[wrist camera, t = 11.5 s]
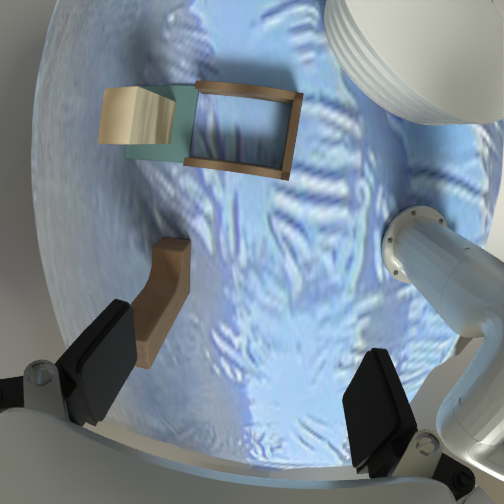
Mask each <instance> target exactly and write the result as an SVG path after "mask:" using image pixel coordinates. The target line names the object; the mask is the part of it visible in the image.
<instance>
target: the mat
mask: <svg viewBox="0 0 504 504" xmlns="http://www.w3.org/2000/svg"><path fill="white" fill-rule="evenodd" d="M134 87H136V86H134ZM138 87H141V88H143V89H146V90H148V91H151V92H153V93H156V94H158V95H161V96H163V97H165V98H168V99H170V100H172V101H175V102H176V108H175V114H174V121H173V128H172V135H171V143H170V144H126V147H125V159H141V160H155V161H167V162H177V163H184V158H186V157H189V156H190V148H191V140H192V133H193V126H194V119H195V113H196V107H197V101H198V95H199V91H198V90H197V89H195V86H138Z"/></svg>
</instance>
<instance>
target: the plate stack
mask: <svg viewBox="0 0 504 504" xmlns="http://www.w3.org/2000/svg"><path fill="white" fill-rule="evenodd" d="M324 27H325V32H326V36H327V39H328V42H329V45H330V47H331V49H332V51H333V53H334V55H335V57H336V59H337V61H338V62H339V64H340V65H341V67H342V68H343V70H344V71H345V73H346V74H347V75H348V76H349V78H350V79H351V80H352V81H353V82H354V83H355V85H356V86H357V87H358V88H359V89H360V90H361V91H362V92H363V93H364V94H366V95H367V96H368V97H369V98H370V99H371V100H373V101H374V102H375V103H377V104H378V105H379V106H381V107H382V108H384V109H385V110H387V111H389V112H390V113H392V114H394V115H396V116H398V117H400V118H402V119H405V120H407V121H410V122H414V123H417V124H422V125H456V124H489V123H494V122H497V121H499V120H501V119H502V118H504V19H503V17H502V16H501V14H500V12H499V11H498V10H497V8H496V6H495V5H494V3H493V2H492V1H491V0H327V1H326V4H325V9H324Z"/></svg>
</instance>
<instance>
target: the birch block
mask: <svg viewBox="0 0 504 504" xmlns="http://www.w3.org/2000/svg"><path fill="white" fill-rule="evenodd" d="M175 108H176V102H175V101H172V100H170V99H168V98H165V97H163V96H161V95H158V94H156V93H153V92H151V91H148V90H146V89H143V88H141V87H138V86H136V87H119V88H107V89H105V93H104V99H103V105H102V112H101V119H100V127H99V136H98V144H170V143H171V135H172V128H173V121H174V114H175Z"/></svg>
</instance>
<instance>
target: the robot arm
mask: <svg viewBox="0 0 504 504" xmlns="http://www.w3.org/2000/svg"><path fill="white" fill-rule="evenodd" d="M388 238H389V240H388ZM382 258H383V262H384V264H385V267H386V269H387V270H388V272H389V273H390V274H391V275H392V276H393V277H394V278H395V279H397V280H398V281H400V282H403V283H408V284H413V285H414V286H415V287H416V288H417V289H418V291H419V292H420V293H421V294H422V295H423V296H424V298H425V299H426V300H427V301H428V302H429V303H430V305H431V306H432V307H433V308H434V309H435V311H436V312H437V313H438V314H439V315H440V317H441V318H442V319H443V320H444V322H445V323H446V324H447V325H448V326H449V328H450V329H451V330H452V331H454V332H455V333H456V334H458V335H460V336H463V337H468V338H479V337H484V340H483V343H482V345H481V346H480V348H479V350H478V352H477V353H476V355H475V358H474V359H473V360H472V362H471V363H470V365H469V366H468V368H467V369H466V371H465V372H464V373H463V375H462V376H461V377H460V379H459V380H458V382H457V383H456V384H455V386H454V387H453V388H452V390H451V391H450V392H449V393H448V395H447V396H446V398H445V399H444V401H443V402H442V404H441V406H440V408H439V410H438V414H437V419H436V426H437V430H438V434H439V436H440V437H439V436H438V434H436V433H435V432H433V431H431V430H426V429H423V430H419V431H418V429H417V423H416V421H415V418H414V415H413V412H412V410H411V407H410V405H409V402H408V399H407V397H406V394H405V392H404V389H403V387H402V384H401V382H400V379H399V377H398V374H397V372H396V370H395V367H394V365H393V363H392V360H391V358H390V356H389V353H388V351H387V350H386V349H381V348H372V349H371V350H370V351H368V352H367V353H366V354H365V356H364V358H363V360H362V362H361V364H360V366H359V368H358V370H357V371H356V373H355V375H354V377H353V379H352V381H351V382H350V384H349V386H348V388H347V389H346V391H345V393H344V395H343V399H342V402H343V408H344V414H345V419H346V425H347V431H348V438H349V444H350V451H351V458H352V464H353V467H355V468H356V469H357V474H363V473H369V479H359V480H339V481H297V480H280V479H268V478H258V477H250V476H243V475H236V474H230V473H224V472H219V471H213V470H208V469H204V468H199V467H195V466H191V465H187V464H183V463H179V462H175V461H171V460H168V459H165V458H161V457H158V456H155V455H152V454H149V453H146V452H143V451H140V450H137V449H134V448H132V447H129V446H126V445H124V444H121V443H118V442H116V441H113V440H111V439H108V438H106V437H104V436H101V435H99V434H97V433H94V432H92V431H90V430H88V429H86V428H83V427H82V426H83V425H84V424H85V422H87V423H89V424H91V425H93V426H96V424H97V423H98V421H102V420H103V419H104V418H105V416H106V414H107V412H108V410H109V409H110V407H111V405H112V403H113V402H114V400H115V398H116V397H117V395H118V393H119V391H120V390H121V388H122V386H123V385H124V383H125V381H126V379H127V378H128V376H129V374H130V373H131V371H132V369H133V368H134V366H135V364H136V362H137V347H136V338H135V327H134V314H133V308H132V307H130V304H129V303H128V302H125V301H122V300H118V299H114V300H113V301H112V302H111V303H110V304H109V305H108V306H107V307H106V309H105V310H104V311H103V312H102V313H101V314H100V315H99V316H98V317H97V318H96V319H95V320H94V321H93V322H92V323H91V324H90V325H89V326H88V327H87V328H86V329H85V330H84V331H83V332H82V334H81V335H80V336H79V337H78V338H77V339H76V340H75V341H74V342H73V344H72V345H71V346H70V347H69V348H68V349H67V350H66V352H65V353H64V354H63V355H62V356H61V357H60V358H59V359H58V361H57V362H56V363H55V364H54V363H52V362H50V361H47V360H37V361H34V362H32V363H30V364H29V365H28V366H27V367H26V369H25V370H24V375H23V376H19V377H13V378H7V379H0V504H495V502H494V501H493V500H492V499H491V498H490V497H489V496H488V495H487V494H486V493H485V492H484V491H483V490H482V489H481V488H480V487H479V485H477V486H476V487H475V486H474V485H475V476H474V474H473V472H472V471H471V470H470V469H469V468H468V467H466V466H464V465H463V464H461V463H459V462H457V461H455V460H454V459H452V458H451V457H449V456H447V455H445V454H444V453H442V450H443V443H442V441H443V442H444V444H445V446H446V447H447V448H448V449H449V450H450V451H451V452H453V453H454V454H455V455H456V456H458V457H459V458H461V459H462V460H464V461H466V462H467V463H469V464H471V465H473V466H474V467H477V468H478V469H480V470H482V471H484V472H486V473H488V474H490V475H492V476H494V477H496V478H498V479H500V480H502V481H504V262H502V261H501V260H499V259H498V258H496V257H495V256H493V255H491V254H490V253H488V252H487V251H485V250H484V249H482V248H481V247H479V246H477V245H476V244H474V243H473V242H471V241H469V240H468V239H466V238H464V237H463V236H461V235H459V234H458V233H456V232H454V231H453V230H451V229H449V228H448V225H447V222H446V220H445V218H444V217H443V216H442V215H441V214H440V213H439V212H438V211H437V210H435V209H433V208H431V207H428V206H425V205H416V206H411V207H409V208H406V209H404V210H403V211H401V212H400V213H399V214H398V215H397V216H396V217H395V218H394V219H393V220H392V221H391V223H390V224H389V226H388V228H387V230H386V232H385V235H384V238H383V242H382Z"/></svg>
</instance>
